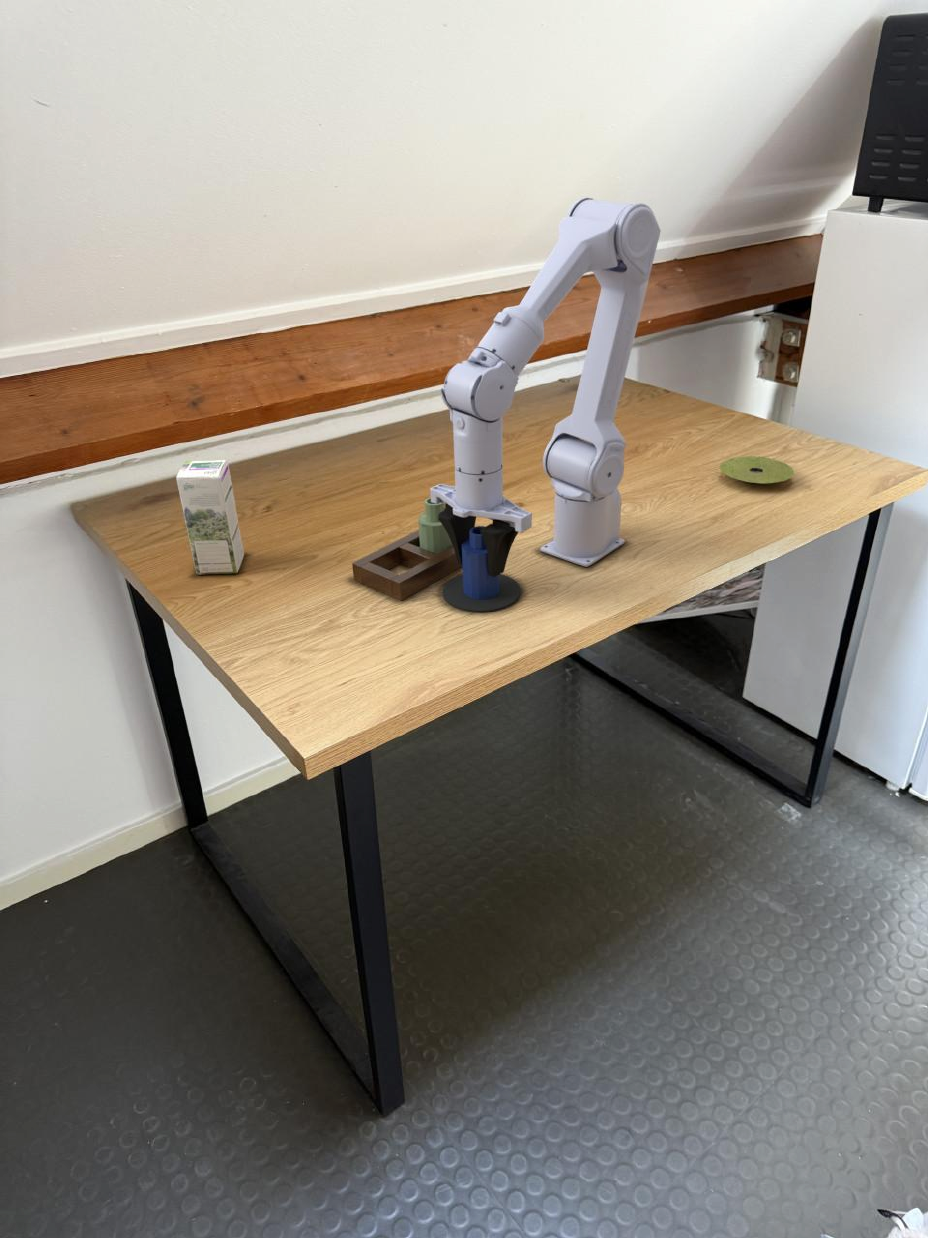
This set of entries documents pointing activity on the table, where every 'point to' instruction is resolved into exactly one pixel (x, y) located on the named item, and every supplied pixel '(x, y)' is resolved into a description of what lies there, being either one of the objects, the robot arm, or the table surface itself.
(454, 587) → the coaster
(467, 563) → the blue bottle
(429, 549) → the sage bottle
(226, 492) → the syrup box
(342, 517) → the table surface
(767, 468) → the mat
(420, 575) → the bottle rack
